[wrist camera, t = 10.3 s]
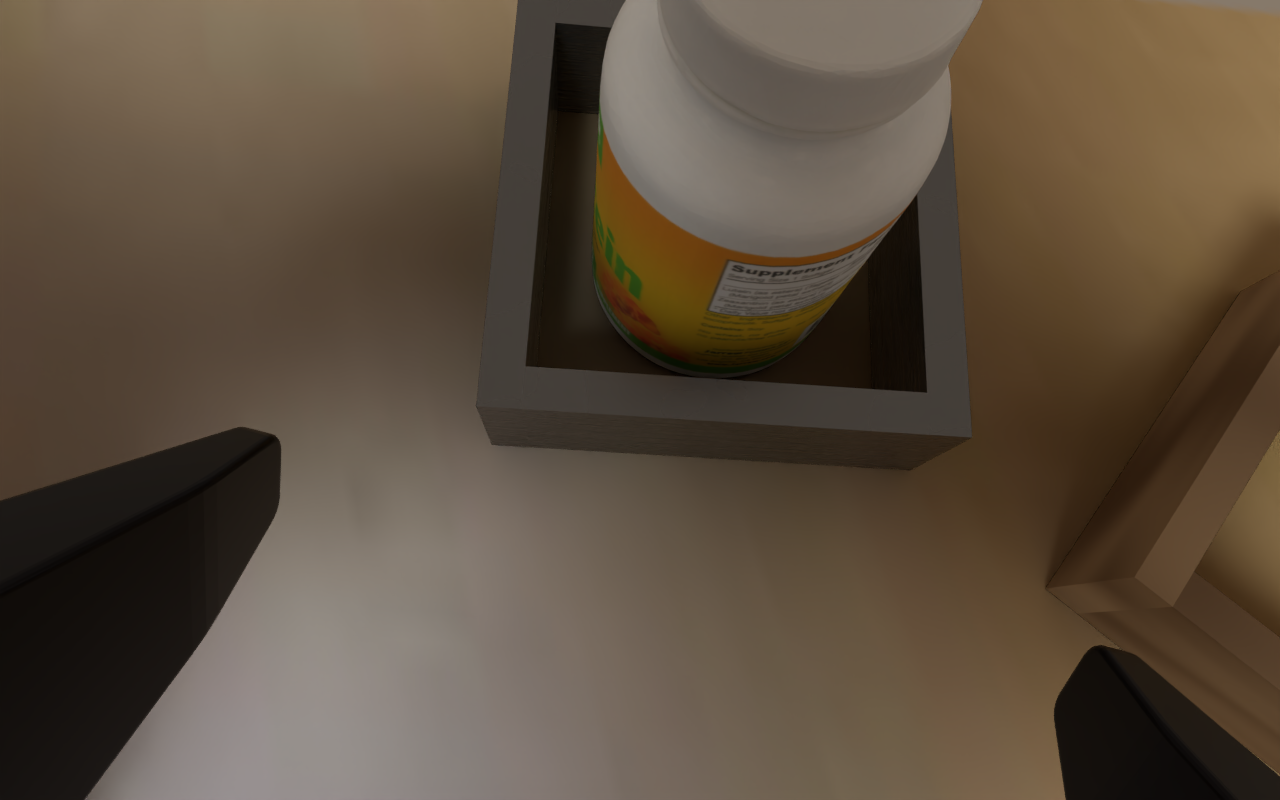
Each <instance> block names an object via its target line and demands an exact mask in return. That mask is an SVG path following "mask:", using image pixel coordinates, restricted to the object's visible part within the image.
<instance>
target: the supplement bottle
mask: <svg viewBox="0 0 1280 800" xmlns="http://www.w3.org/2000/svg"><path fill="white" fill-rule="evenodd" d="M982 1H983V0H626V1H625V2H624V4H623V6H622V7H621V9H620V11H619V13H618V15H617V17H616V19H615V21H614V24H613V26H612V28H611V31H610V33H609V36H608V40H607V44H606V49H605V53H604V59H603V64H602V74H601V84H600V97H599V121H598V142H597V167H596V184H595V200H594V216H593V234H592V272H593V279H594V285H595V289H596V293H597V296H598V299H599V301H600V304H601V306H602V308H603V310H604V312H605V314H606V316H607V317H608V319H609V321H610V323H611V324H612V325H613V327H614V328H615V329H616V331H617V332H618V333H619V334H620V335H621V336H622V338H623V339H624V340H625V341H626V342H627V343H628V344H629V345H630V346H632V347H633V348H634V349H635V350H636V351H638V352H639V353H640V354H641V355H643V356H644V357H646V358H647V359H649V360H651V361H652V362H654V363H656V364H658V365H660V366H662V367H664V368H667V369H669V370H672V371H675V372H678V373H681V374H685V375H690V376H695V377H704V378H729V377H736V376H742V375H747V374H750V373H754V372H757V371H759V370H762V369H764V368H767V367H769V366H771V365H773V364H774V363H776V362H778V361H779V360H781V359H782V358H784V357H786V356H787V355H788V354H789V353H791V352H792V351H793V350H795V349H796V348H797V347H798V346H799V345H800V344H801V343H802V342H803V341H804V340H805V339H806V338H807V337H808V335H809V334H810V333H811V332H812V331H813V330H814V329H815V327H816V326H817V325H818V324H819V323H820V321H821V320H822V319H823V317H824V316H825V314H826V313H827V312H828V310H829V309H830V308H831V306H832V305H833V304H834V303H835V301H836V300H837V298H838V297H839V296H840V295H841V293H842V292H843V291H844V289H845V288H846V287H847V285H848V284H849V283H850V281H851V280H852V279H853V277H854V276H855V275H856V273H857V272H858V271H859V269H860V268H861V267H862V266H863V265H864V264H865V262H866V261H867V259H868V258H869V256H870V255H871V254H872V252H873V251H874V250H875V248H876V247H877V246H878V244H879V243H880V242H881V241H882V239H883V238H884V237H885V235H886V234H887V233H888V231H889V230H890V229H891V228H892V226H893V225H894V224H895V223H896V221H897V220H898V219H899V217H900V216H901V215H902V214H903V212H904V211H905V210H906V208H907V207H908V206H909V204H910V203H911V202H912V200H913V199H914V197H915V196H916V194H917V193H918V191H919V190H920V188H921V187H922V185H923V184H924V182H925V180H926V179H927V177H928V175H929V174H930V172H931V170H932V168H933V167H934V165H935V163H936V161H937V159H938V156H939V154H940V151H941V149H942V146H943V143H944V141H945V137H946V134H947V130H948V124H949V118H950V110H951V81H950V73H949V67H948V64H949V62H950V60H951V58H952V56H953V54H954V53H955V51H956V49H957V48H958V46H959V44H960V42H961V41H962V39H963V37H964V36H965V34H966V32H967V30H968V29H969V27H970V25H971V23H972V22H973V20H974V18H975V16H976V15H977V13H978V11H979V9H980V7H981V4H982Z"/></svg>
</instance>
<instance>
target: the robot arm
mask: <svg viewBox="0 0 1280 800" xmlns="http://www.w3.org/2000/svg"><path fill="white" fill-rule="evenodd" d="M280 473H281V445H280V441H279V439H278V438H277V437H276V436H275V435H273V434H269V433H266V432H262V431H258V430H254V429H250V428H246V427H237V428H234V429H230V430H227V431H224V432H221V433H217V434H214V435H211V436H208V437H205V438H201V439H198V440H195V441H192V442H189V443H185V444H182V445H179V446H176V447H172V448H169V449H166V450H163V451H160V452H156V453H153V454H150V455H147V456H144V457H140V458H137V459H134V460H131V461H127V462H124V463H121V464H118V465H115V466H111V467H108V468H105V469H102V470H98V471H95V472H92V473H89V474H86V475H82V476H79V477H76V478H73V479H69V480H66V481H63V482H60V483H57V484H53V485H50V486H47V487H44V488H40V489H37V490H34V491H31V492H28V493H24V494H21V495H18V496H15V497H11V498H8V499H5V500H2V501H0V800H85V798H86V797H87V796H88V794H89V793H90V792H91V790H92V789H93V788H94V786H95V785H96V784H97V782H98V781H99V780H100V778H101V777H102V775H103V774H104V773H105V771H106V770H107V769H108V767H109V766H110V765H111V763H112V762H113V761H114V759H115V758H116V757H117V755H118V754H119V752H120V751H121V750H122V748H123V747H124V746H125V744H126V743H127V742H128V740H129V739H130V738H131V736H132V735H133V734H134V732H135V731H136V730H137V728H138V727H139V725H140V724H141V723H142V721H143V720H144V719H145V717H146V716H147V715H148V713H149V712H150V711H151V709H152V708H153V707H154V705H155V704H156V703H157V701H158V700H159V698H160V697H161V696H162V694H163V693H164V692H165V690H166V689H167V688H168V686H169V685H170V684H171V682H172V681H173V680H174V678H175V677H176V676H177V674H178V673H179V671H180V670H181V669H182V667H183V666H184V665H185V663H186V662H187V661H188V659H189V658H190V657H191V655H192V654H193V653H194V651H195V650H196V648H197V647H198V645H199V644H200V643H201V641H202V640H203V638H204V637H205V635H206V634H207V632H208V631H209V629H210V628H211V626H212V624H213V623H214V621H215V619H216V618H217V616H218V614H219V613H220V611H221V609H222V608H223V606H224V604H225V602H226V601H227V599H228V597H229V595H230V594H231V592H232V590H233V588H234V587H235V585H236V583H237V582H238V580H239V578H240V576H241V575H242V573H243V571H244V569H245V568H246V566H247V564H248V562H249V561H250V559H251V557H252V555H253V554H254V552H255V550H256V549H257V547H258V545H259V543H260V542H261V540H262V538H263V536H264V535H265V533H266V531H267V529H268V528H269V526H270V524H271V523H272V521H273V519H274V517H275V514H276V512H277V509H278V505H279V500H280ZM1054 722H1055V729H1056V736H1057V743H1058V750H1059V756H1060V763H1061V770H1062V777H1063V784H1064V791H1065V798H1066V800H1280V776H1279V775H1277V774H1276V773H1275V772H1274V771H1273V770H1272V769H1270V768H1269V767H1268V766H1267V765H1266V764H1264V763H1263V762H1262V761H1261V760H1260V759H1259V758H1257V757H1256V756H1255V755H1254V754H1253V753H1252V752H1250V751H1249V750H1248V749H1247V748H1246V747H1244V746H1243V745H1242V744H1241V743H1240V742H1239V741H1237V740H1236V739H1235V738H1234V737H1233V736H1232V735H1230V734H1229V733H1228V732H1227V731H1226V730H1224V729H1223V728H1222V727H1221V726H1220V725H1219V724H1217V723H1216V722H1215V721H1214V720H1213V719H1211V718H1210V717H1209V716H1208V715H1207V714H1206V713H1204V712H1203V711H1202V710H1201V709H1200V708H1199V707H1197V706H1196V705H1195V704H1194V703H1193V702H1191V701H1190V700H1189V699H1188V698H1187V697H1186V696H1184V695H1183V694H1182V693H1181V692H1180V691H1179V690H1177V689H1176V688H1175V687H1174V686H1173V685H1171V684H1170V683H1169V682H1168V681H1167V680H1166V679H1164V678H1163V677H1162V676H1161V675H1160V674H1158V673H1157V672H1156V671H1155V670H1154V669H1153V668H1151V667H1150V666H1149V665H1148V664H1147V663H1146V662H1144V661H1143V660H1142V659H1141V658H1140V657H1138V656H1137V655H1135V654H1133V653H1130V652H1126V651H1122V650H1118V649H1114V648H1110V647H1106V646H1102V645H1098V646H1094V647H1092V648H1090V649H1089V650H1088V651H1087V652H1086V653H1085V655H1084V656H1083V658H1082V659H1081V661H1080V662H1079V664H1078V665H1077V667H1076V669H1075V670H1074V672H1073V673H1072V675H1071V676H1070V678H1069V679H1068V681H1067V683H1066V684H1065V686H1064V687H1063V689H1062V690H1061V692H1060V693H1059V695H1058V698H1057V700H1056V703H1055V708H1054Z"/></svg>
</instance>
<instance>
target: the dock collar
mask: <svg viewBox="0 0 1280 800" xmlns="http://www.w3.org/2000/svg"><path fill="white" fill-rule="evenodd" d="M625 1H626V0H518V6H517V15H516V25H515V35H514V44H513V54H512V64H511V74H510V83H509V93H508V103H507V112H506V122H505V132H504V141H503V151H502V161H501V170H500V180H499V190H498V199H497V209H496V219H495V228H494V238H493V248H492V258H491V267H490V277H489V287H488V296H487V306H486V316H485V325H484V335H483V345H482V354H481V364H480V374H479V383H478V393H477V403H476V407H477V409H478V412H479V414H480V417H481V419H482V422H483V424H484V427H485V429H486V432H487V434H488V436H489V439H490V441H491V444H492V445H505V446H521V447H538V448H554V449H571V450H587V451H604V452H620V453H636V454H653V455H669V456H686V457H702V458H719V459H735V460H751V461H768V462H784V463H801V464H817V465H834V466H850V467H867V468H883V469H899V470H912V469H914V468H916V467H918V466H920V465H921V464H923V463H925V462H927V461H929V460H931V459H933V458H935V457H936V456H938V455H940V454H942V453H944V452H946V451H948V450H950V449H951V448H953V447H955V446H957V445H959V444H961V443H963V442H965V441H966V440H968V439H970V438H972V428H971V412H970V397H969V381H968V366H967V350H966V335H965V319H964V304H963V288H962V273H961V257H960V242H959V226H958V211H957V195H956V179H955V164H954V148H953V133H952V117H951V110H950V118H949V124H948V130H947V134H946V137H945V141H944V143H943V146H942V149H941V151H940V154H939V156H938V159H937V161H936V163H935V165H934V167H933V168H932V170H931V172H930V174H929V175H928V177H927V179H926V180H925V182H924V184H923V185H922V187H921V188H920V190H919V191H918V193H917V194H916V196H915V197H914V199H913V200H912V202H911V203H910V204H909V206H908V207H907V208H906V210H905V211H904V212H903V214H902V215H901V216H900V217H899V219H898V220H897V221H896V223H895V224H894V225H893V226H892V228H891V229H890V230H889V231H888V233H887V234H886V235H885V237H884V238H883V239H882V241H881V242H880V243H879V244H878V246H877V247H876V248H875V250H874V251H873V252H872V254H871V255H870V256H869V258H868V276H869V308H870V340H871V372H872V389H862V388H847V387H832V386H817V385H802V384H786V383H771V382H756V381H741V380H726V379H711V378H696V377H681V376H665V375H650V374H635V373H620V372H605V371H590V370H575V369H560V368H544V367H537V358H538V346H539V334H540V322H541V310H542V298H543V287H544V275H545V263H546V251H547V239H548V227H549V215H550V203H551V191H552V179H553V167H554V155H555V143H556V131H557V119H558V111H568V112H580V113H592V114H599V97H600V84H601V74H602V64H603V59H604V53H605V49H606V44H607V40H608V36H609V33H610V31H611V28H612V26H613V24H614V21H615V19H616V17H617V15H618V13H619V11H620V9H621V7H622V6H623V4H624V2H625Z"/></svg>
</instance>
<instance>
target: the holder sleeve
mask: <svg viewBox="0 0 1280 800" xmlns="http://www.w3.org/2000/svg"><path fill="white" fill-rule="evenodd" d="M1279 430H1280V270H1279V271H1278V272H1276V273H1274V274H1272V275H1270V276H1268V277H1266V278H1265V279H1263V280H1261V281H1259V282H1257V283H1255V284H1253V285H1252V286H1250V287H1248V288H1246V289H1244V290H1242V291H1241V292H1240V293H1239V295H1238V296H1237V298H1236V299H1235V301H1234V302H1233V304H1232V306H1231V307H1230V309H1229V310H1228V312H1227V313H1226V315H1225V316H1224V318H1223V319H1222V321H1221V322H1220V324H1219V325H1218V327H1217V328H1216V330H1215V331H1214V333H1213V334H1212V336H1211V337H1210V339H1209V341H1208V342H1207V344H1206V345H1205V347H1204V348H1203V350H1202V351H1201V353H1200V354H1199V356H1198V357H1197V359H1196V360H1195V362H1194V363H1193V365H1192V366H1191V368H1190V369H1189V371H1188V373H1187V374H1186V376H1185V377H1184V379H1183V380H1182V382H1181V383H1180V385H1179V386H1178V388H1177V389H1176V391H1175V392H1174V394H1173V395H1172V397H1171V398H1170V400H1169V401H1168V403H1167V405H1166V406H1165V408H1164V409H1163V411H1162V412H1161V414H1160V415H1159V417H1158V418H1157V420H1156V421H1155V423H1154V424H1153V426H1152V427H1151V429H1150V430H1149V432H1148V433H1147V435H1146V436H1145V438H1144V440H1143V441H1142V443H1141V444H1140V446H1139V447H1138V449H1137V450H1136V452H1135V453H1134V455H1133V456H1132V458H1131V459H1130V461H1129V462H1128V464H1127V465H1126V467H1125V468H1124V470H1123V472H1122V473H1121V475H1120V476H1119V478H1118V479H1117V481H1116V482H1115V484H1114V485H1113V487H1112V488H1111V490H1110V491H1109V493H1108V494H1107V496H1106V497H1105V499H1104V500H1103V502H1102V503H1101V505H1100V507H1099V508H1098V510H1097V511H1096V513H1095V514H1094V516H1093V517H1092V519H1091V520H1090V522H1089V523H1088V525H1087V526H1086V528H1085V529H1084V531H1083V532H1082V534H1081V535H1080V537H1079V539H1078V540H1077V542H1076V543H1075V545H1074V546H1073V548H1072V549H1071V551H1070V552H1069V554H1068V555H1067V557H1066V558H1065V560H1064V561H1063V563H1062V564H1061V566H1060V567H1059V569H1058V570H1057V572H1056V574H1055V575H1054V577H1053V578H1052V580H1051V581H1050V583H1049V584H1048V586H1047V587H1046V589H1047V590H1048V591H1049V592H1051V593H1052V594H1053V595H1054V596H1056V597H1057V598H1058V599H1060V600H1061V601H1062V602H1063V603H1065V604H1066V605H1067V606H1068V607H1070V608H1071V609H1072V610H1073V611H1075V612H1076V613H1077V614H1078V615H1080V616H1081V617H1082V618H1084V619H1085V620H1086V621H1087V622H1089V623H1090V624H1091V625H1092V626H1094V627H1095V628H1096V629H1097V630H1099V631H1100V632H1101V633H1102V634H1104V635H1105V636H1106V637H1107V638H1109V639H1110V640H1111V641H1113V642H1114V643H1115V644H1116V645H1118V646H1119V647H1120V648H1121V649H1123V650H1124V651H1126V652H1130V653H1133V654H1135V655H1137V656H1138V657H1140V658H1141V659H1142V660H1143V661H1144V662H1146V663H1147V664H1148V665H1149V666H1150V667H1151V668H1153V669H1154V670H1155V671H1156V672H1157V673H1158V674H1160V675H1161V676H1162V677H1163V678H1164V679H1166V680H1167V681H1168V682H1169V683H1170V684H1171V685H1173V686H1174V687H1175V688H1176V689H1177V690H1179V691H1180V692H1181V693H1182V694H1183V695H1184V696H1186V697H1187V698H1188V699H1189V700H1190V701H1191V702H1193V703H1194V704H1195V705H1196V706H1197V707H1199V708H1200V709H1201V710H1202V711H1203V712H1204V713H1206V714H1207V715H1208V716H1209V717H1210V718H1211V719H1213V720H1214V721H1215V722H1216V723H1217V724H1219V725H1220V726H1221V727H1222V728H1223V729H1224V730H1226V731H1227V732H1228V733H1229V734H1230V735H1232V736H1233V737H1234V738H1235V739H1236V740H1237V741H1239V742H1240V743H1241V744H1242V745H1244V746H1245V747H1246V748H1247V749H1249V750H1250V751H1251V752H1253V753H1254V754H1255V755H1256V756H1258V757H1259V758H1260V759H1261V760H1263V761H1264V762H1265V763H1266V764H1268V765H1269V766H1270V767H1271V768H1273V769H1274V770H1275V771H1276V772H1278V773H1279V774H1280V637H1279V636H1277V635H1276V634H1275V633H1273V632H1272V631H1271V630H1270V629H1268V628H1267V627H1266V626H1264V625H1263V624H1262V623H1260V622H1259V621H1258V620H1257V619H1255V618H1254V617H1253V616H1251V615H1250V614H1249V613H1247V612H1246V611H1245V610H1244V609H1242V608H1241V607H1240V606H1238V605H1237V604H1236V603H1234V602H1233V601H1232V600H1231V599H1229V598H1228V597H1227V596H1225V595H1224V594H1223V593H1222V592H1220V591H1219V590H1218V589H1216V588H1215V587H1214V586H1212V585H1211V584H1210V583H1209V582H1207V581H1206V580H1205V579H1203V578H1202V577H1201V576H1199V575H1198V574H1197V573H1196V572H1194V571H1195V569H1196V567H1197V566H1198V564H1199V562H1200V561H1201V559H1202V557H1203V556H1204V554H1205V552H1206V551H1207V549H1208V547H1209V546H1210V544H1211V542H1212V541H1213V539H1214V537H1215V536H1216V534H1217V532H1218V531H1219V529H1220V528H1221V526H1222V524H1223V523H1224V521H1225V519H1226V518H1227V516H1228V514H1229V513H1230V511H1231V509H1232V508H1233V506H1234V504H1235V503H1236V501H1237V499H1238V498H1239V496H1240V494H1241V493H1242V491H1243V489H1244V488H1245V486H1246V484H1247V483H1248V481H1249V479H1250V478H1251V476H1252V475H1253V473H1254V471H1255V470H1256V468H1257V466H1258V465H1259V463H1260V461H1261V460H1262V458H1263V456H1264V455H1265V453H1266V451H1267V450H1268V448H1269V446H1270V445H1271V443H1272V441H1273V440H1274V438H1275V436H1276V435H1277V433H1278V431H1279Z"/></svg>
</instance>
